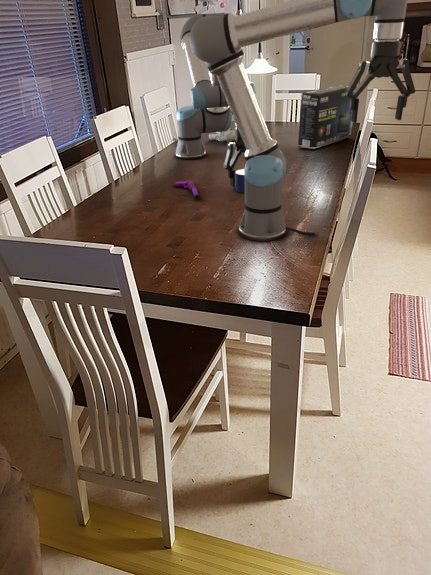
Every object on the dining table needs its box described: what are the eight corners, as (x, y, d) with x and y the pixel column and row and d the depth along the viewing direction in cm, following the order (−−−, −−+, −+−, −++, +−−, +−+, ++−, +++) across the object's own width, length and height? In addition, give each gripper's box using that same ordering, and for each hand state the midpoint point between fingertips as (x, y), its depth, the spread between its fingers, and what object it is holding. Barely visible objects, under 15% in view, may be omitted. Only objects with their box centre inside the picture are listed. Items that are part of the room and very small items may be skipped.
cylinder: (258, 189, 185) (258, 172, 182) (244, 194, 181) (244, 176, 178) (245, 185, 191) (245, 168, 187) (231, 189, 187) (231, 172, 183)
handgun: (174, 185, 194) (174, 180, 193) (192, 183, 195) (192, 178, 194) (181, 201, 176) (180, 197, 175) (200, 199, 177) (200, 194, 176)
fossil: (231, 137, 247) (212, 119, 250) (221, 153, 253) (203, 136, 256) (247, 135, 260) (230, 119, 264) (237, 151, 267) (220, 135, 270)
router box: (314, 151, 231) (318, 94, 217) (296, 148, 237) (299, 92, 224) (352, 138, 251) (358, 85, 238) (335, 135, 258) (340, 83, 245)
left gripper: (221, 132, 167) (223, 191, 178) (276, 124, 174) (274, 181, 186) (213, 128, 172) (215, 185, 184) (266, 121, 180) (265, 176, 192)
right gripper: (424, 37, 131) (410, 115, 142) (338, 41, 129) (331, 120, 140) (437, 39, 124) (422, 120, 135) (347, 43, 123) (339, 125, 134)
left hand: (245, 183), depth 185 cm, fingers open, 10 cm apart
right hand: (375, 120), depth 138 cm, fingers open, 13 cm apart
